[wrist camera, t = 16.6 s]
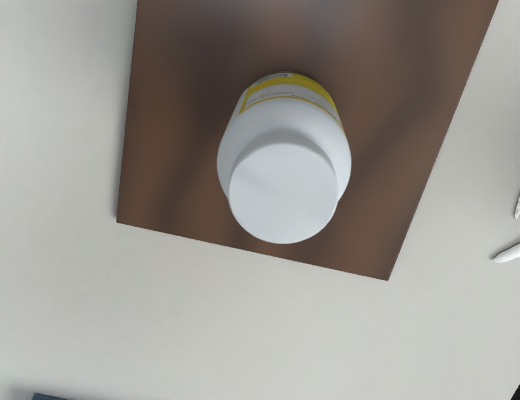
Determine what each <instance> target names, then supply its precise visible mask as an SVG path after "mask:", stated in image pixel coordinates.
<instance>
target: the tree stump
mask: <svg viewBox="0 0 520 400" xmlns="http://www.w3.org/2000/svg"><path fill="white" fill-rule="evenodd" d="M519 215H520V197H519V198H518V203H517V207H516V211H515V219H517V218H518V217H519ZM519 256H520V244H518V245H515V246H513V247H512V248H510V249H508V250H506V251H504V252H502V253H499V254H498V255H497V256H496V257H495V258H493V259H492V261H493V262H494V263H503V262H506V261H509V260H511V259H514V258H517V257H519Z"/></svg>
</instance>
